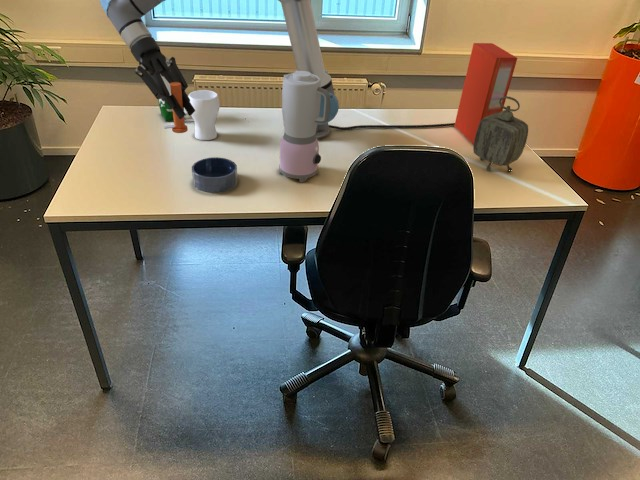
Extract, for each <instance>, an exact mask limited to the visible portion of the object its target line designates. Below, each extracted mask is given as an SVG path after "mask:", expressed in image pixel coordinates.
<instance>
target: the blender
mask: <svg viewBox="0 0 640 480" xmlns="http://www.w3.org/2000/svg"><path fill="white" fill-rule="evenodd" d="M281 89H282V91H281V114H282V123H283V128H284V130H283V131H284V133H283V135H282V138H281V139H280V142H279V167H278V169H279V170H278V171H279V174H280V175H281V174H282V175H283V176H285V177H288V178H291V179H295V180H299V183H306V182H307V179H309V178H312V177H313V176H316V175H318V170H319V169H318V168H319V164H320V163H321V160H322V156H321V155H320V154H319V153H320V144H319V139H317V138H316V134H315V133H316V127H317V123H326V122H327V121H328V119H329V112H330V94H329V92H328V91H327V90H325V89H323V88H321V80H320V78H319V77H318V76H316V75H314V74H311V73H310V72H307V71H296V70H295V71H293V72H289V73H285V74H283V78H282V88H281ZM321 95H323V96H324V98H325V101H324V114H323V117H319V113H320V101H321Z"/></svg>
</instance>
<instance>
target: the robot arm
mask: <svg viewBox="0 0 640 480" xmlns="http://www.w3.org/2000/svg"><path fill="white" fill-rule="evenodd" d="M165 1H166V0H99V2H100V6H101V8H102V9H103V11H104V12H105V15H106V17H107V18H108V19H109V21H110V22H111V24H112V25H113V27H114V28H115V29H116V31H117V33H118V34H119V36H120V37H121V39H122V40H123V42H124V44H125V45H126V47H127V48H128V50H130V53H131V55H132V56H133V58H134V59H135V60H136V62H137V63H138V66H137V67H136V68H135V70H134V74H135V75H137V76H138V77H139V78H140V79H141V80H142V81H143V83H144V84H145V85H146V86H147V88H148V89H149V91H150V92H151V93H152V94H153V96H154V97H155V99H156V100H157V101H158V100H159V99H162V101H166V102H167V104H168V106H169V107H170V108H171V109H173V110H174V112H175V113H176V115H177V116H178V118H179V119H182V118H183V117H184V118H185V116H186V113H187V115H188V116H191V115H192V114H193V113H194V112H195V109H194V108H193V106H192V105H191V103H190V98H189V97H188V96H189V94H187V92H186V90H187V89H188V87H189V85H188V83H187V81H186V79H185V77H184V76H183V74H182V72H181V70H180V68H179V66H178V65H177V61H176V57H174V56H171V57H170V58H169V57H166V56H165V55H164V54H163V53H162V52H161V48H160V46H159V44H158V42H157V41H156V39H155V38H154V37H153V34H152V33H151V31H150V30H149V28H148V27H147V25H146V24H145V23H144V21H143V19H142V17H143V16H146V14H148V13H149V12H151V11H152V10H153V9H155V8H156V7H157V6H159V5H161V3H164V2H165ZM277 1H278V2H279V3H280V4H281V9H282V13H283V16H284V21H285V25H286V30H287V33H288V37H289V41H290V45H291V50H292V54H293V58H294V62H295V66H296V70H295V72H296V71H307V72H310V73H311V74H314V75H316V76H318V77H319V78H320V80H321V88H323V89H325V90H327V91H328V92H329V94H330V112H329V119H328V121H327V122H326V123H317V127H316V133H315V134H316V138H317V140H321V139H325V138H326V137H328V136H329V134H330V129H334V130H339V131H349V130H354V129H413V128H414V129H420V128H421V129H422V128H439V127H440V128H441V127H452V126H453V127H455V126H454V125H455V122H450V123H449V122H448V123H435V124H402V125H401V124H399V125H398V124H397V125H396V124H364V125H363V124H360V125H359V124H358V125H351V126H347V127H346V126H345V127H344V126H337V125H330V124H329V123H330V122H331V121H332V120H334V119H335V118H336V116H337V114H338V113H339V108H340V104H339V99H338V97H337V96H336V93H335V90H334V85H333V81H332V76H331V75H330V74H329V73H328V71H327V70H326V69H325V65H324V60H323V55H322V51H321V46H320V41H319V36H318V32H317V26H316V21H315V16H314V12H313V7H312V2H311V0H277ZM166 63H167V65H166ZM160 74H161V75H160ZM161 76H163V77H164V78H165V79H166V80H167V81H168V82H169V84H170V83H172V82H179V83H181V90H182V100H183V107H184V111H183V109H182V108H181V106H180V105H179V103H178V101H177V100H176V98H175V97H174V95H171V96H170V93H169V91H168V89H167V87H166V85H165V83H164V81H163V79H162V77H161ZM324 101H325V98H324V96H323V95H321V101H320V113H319V117H323V114H324ZM185 111H186V112H185Z"/></svg>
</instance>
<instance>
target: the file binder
mask: <svg viewBox="0 0 640 480" xmlns="http://www.w3.org/2000/svg"><path fill="white" fill-rule="evenodd" d="M517 62H518V57H517V56H515V55H513V54H512V53H510V52H508V51H506V50H505V49H503V48H502V47H500V46H498V45H496V44H495V43H493V42H492V43H491V42H474V43H473V44H472V48H471V52H470V57H469V61H468V65H467V69H466V75H465V79H464V81H463V82H464V83H463V86H462V90H461V95H460V99H459V104H458V107H457V113H456V116H455V120H454V121H455V122H454V123H455V125H454V126H453V127H455V128H456V129H457V130H458V131H459V132H460V133H461V134H462V135H463V136H464V137H465V138H466V139H467V140H468V141H469V142H470V143H471V144H472V145H474V140H475V135H476V132H477V129H478V126H479V123H480V121H481V120H482V119H483V118H485V117H487V116H489V115H491V114H494V113H500V112H501V111H503V110H504V109H503V108H502V107H501V106H500V103H499V101H500V99H501V98H502V97H506V96H508V93H509V89H510V86H511V83H512V78H513V75H514V71H515V68H516V65H517ZM506 100H507V98H505V99H502V100H501V104H502V105H503V106H504V107H505V103H506Z"/></svg>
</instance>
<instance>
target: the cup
mask: <svg viewBox="0 0 640 480" xmlns="http://www.w3.org/2000/svg"><path fill="white" fill-rule="evenodd" d="M188 97H189V98H190V103H191V105H192V106H193V108H194V109H195V112H194V113H193V114H192V115H190V116H191V119H194V121H195V122H194V125H195V128H194V137H195V138H196V139H197V140H200V141H211V140H214V139H216V138H217V137H218V132H217V128H216V119H217V117H218V115H219V112H220V105H221V104H220V100H219V96H218V93H217V92H215V91H213V90H208V89H198V90H194V91H191V92H190V93H188Z"/></svg>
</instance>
